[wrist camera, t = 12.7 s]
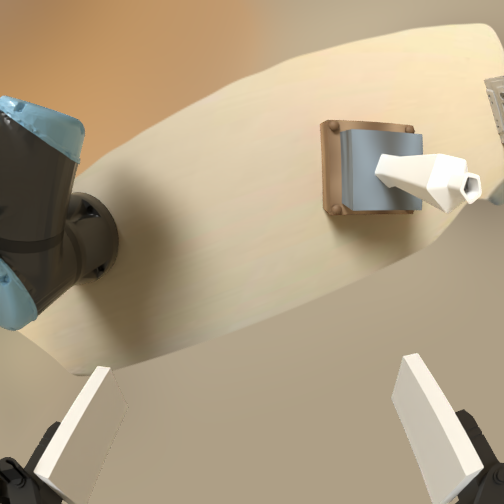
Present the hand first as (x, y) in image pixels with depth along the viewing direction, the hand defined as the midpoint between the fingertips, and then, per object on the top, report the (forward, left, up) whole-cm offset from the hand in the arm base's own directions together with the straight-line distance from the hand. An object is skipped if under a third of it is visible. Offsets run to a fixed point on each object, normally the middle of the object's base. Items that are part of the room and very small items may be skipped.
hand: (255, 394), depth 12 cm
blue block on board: (+15, +8, -33) cm, 37 cm away
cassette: (+43, +20, -33) cm, 57 cm away
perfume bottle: (+15, +8, -23) cm, 28 cm away
